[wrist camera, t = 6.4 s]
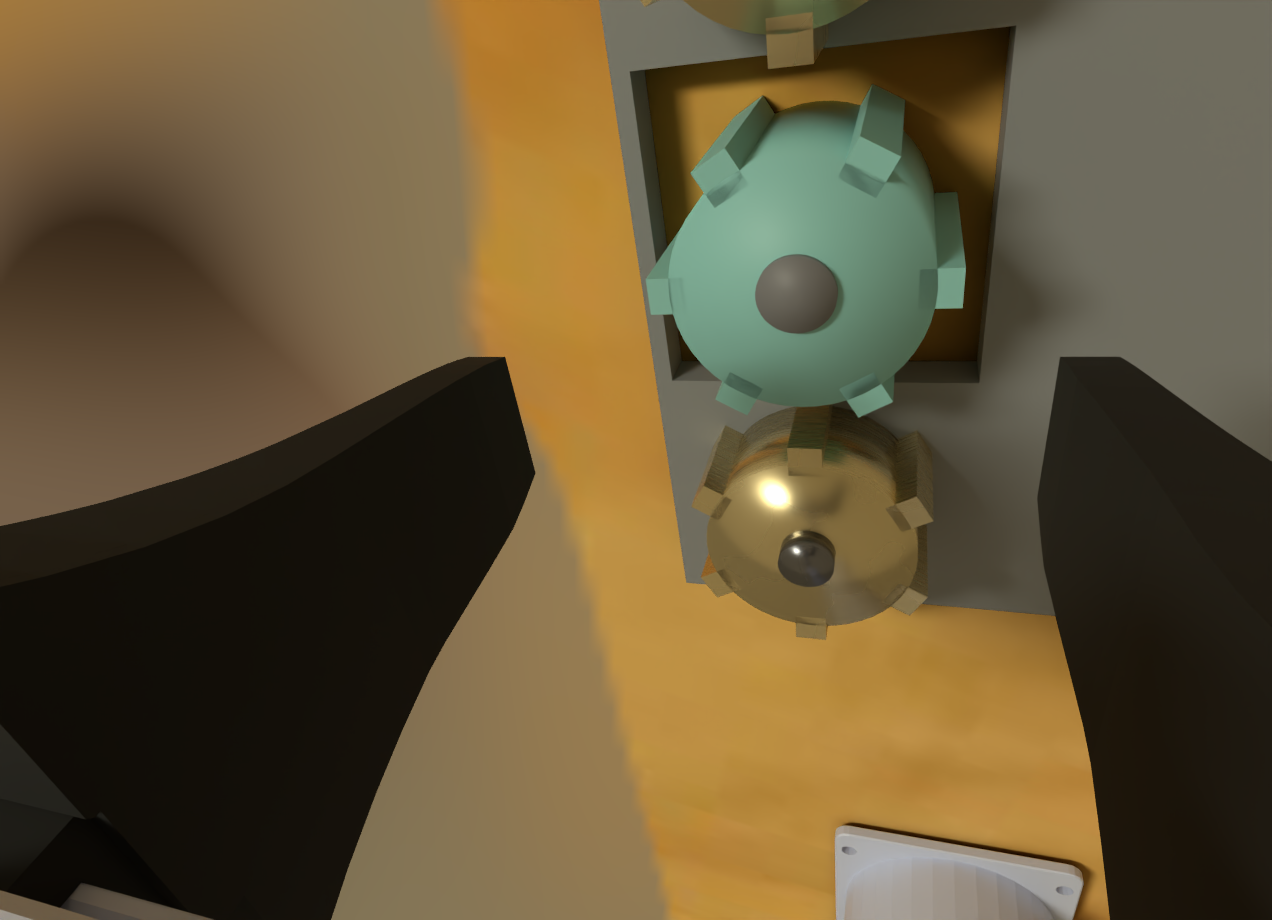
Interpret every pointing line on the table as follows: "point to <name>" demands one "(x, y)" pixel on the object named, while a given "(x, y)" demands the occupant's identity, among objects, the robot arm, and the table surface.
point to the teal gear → (812, 255)
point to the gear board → (1012, 301)
